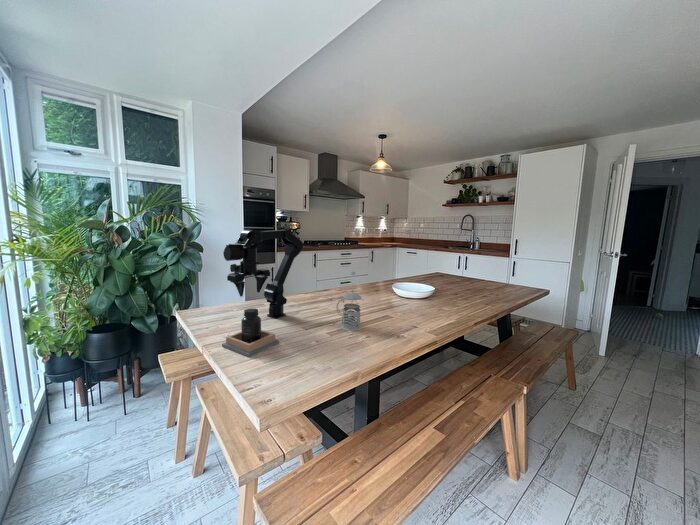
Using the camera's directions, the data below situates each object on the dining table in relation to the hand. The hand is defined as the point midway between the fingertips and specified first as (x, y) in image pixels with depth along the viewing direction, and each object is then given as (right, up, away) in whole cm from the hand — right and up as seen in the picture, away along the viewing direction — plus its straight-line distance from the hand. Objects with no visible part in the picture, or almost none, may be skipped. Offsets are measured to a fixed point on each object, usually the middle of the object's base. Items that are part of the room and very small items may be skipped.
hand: (250, 294), depth 124 cm
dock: (+7, -16, -20) cm, 27 cm away
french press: (+43, -15, +2) cm, 46 cm away
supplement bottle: (+8, -15, -20) cm, 26 cm away
